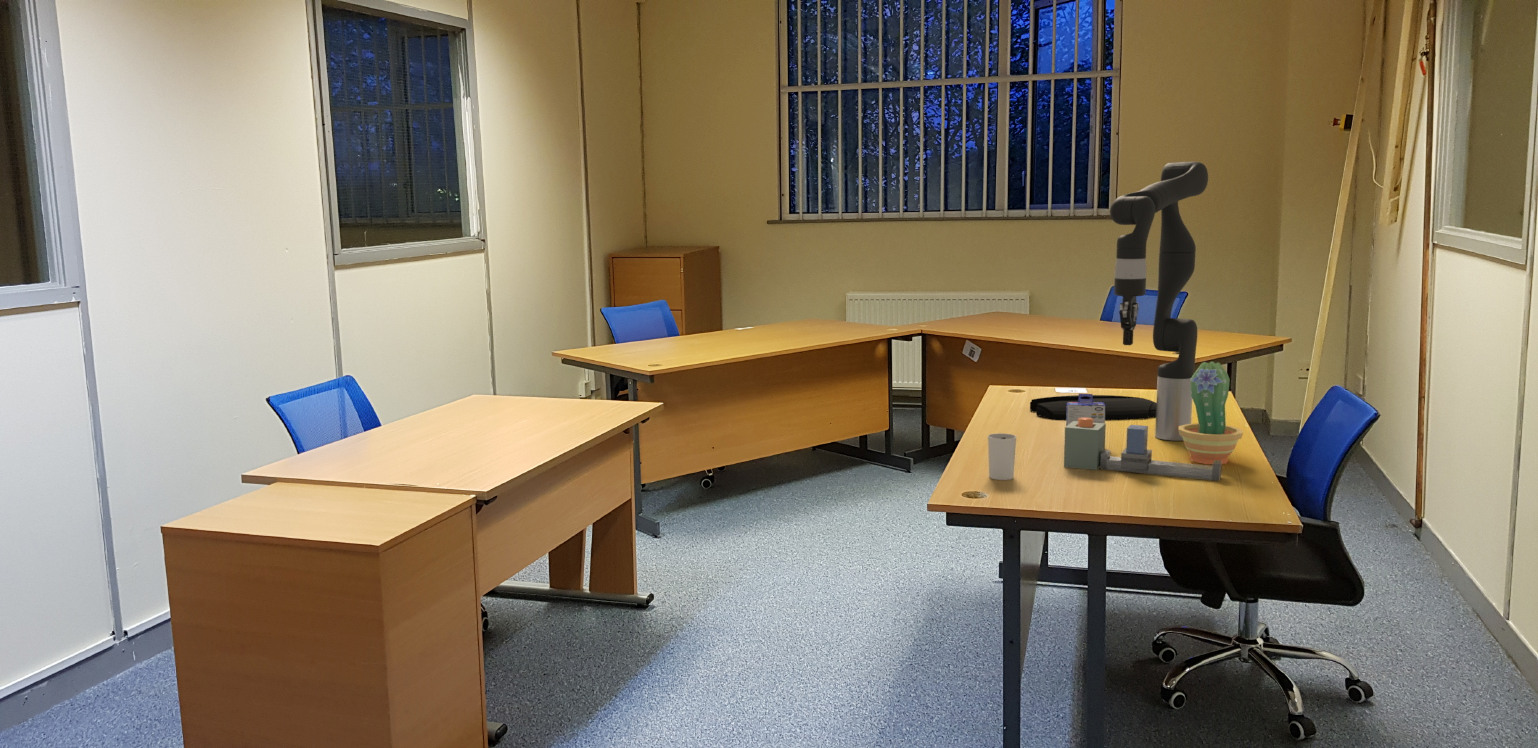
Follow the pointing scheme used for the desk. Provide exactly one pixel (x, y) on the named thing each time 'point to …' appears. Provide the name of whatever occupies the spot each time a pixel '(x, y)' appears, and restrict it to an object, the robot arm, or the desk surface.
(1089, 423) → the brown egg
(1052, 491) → the desk surface
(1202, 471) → the rail
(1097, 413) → the ink cartridge box
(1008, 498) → the desk surface
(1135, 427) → the carriage
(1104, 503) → the desk surface
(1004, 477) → the cream cup
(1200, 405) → the potted cactus
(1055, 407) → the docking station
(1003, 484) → the desk surface
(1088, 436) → the grey-green socket block
